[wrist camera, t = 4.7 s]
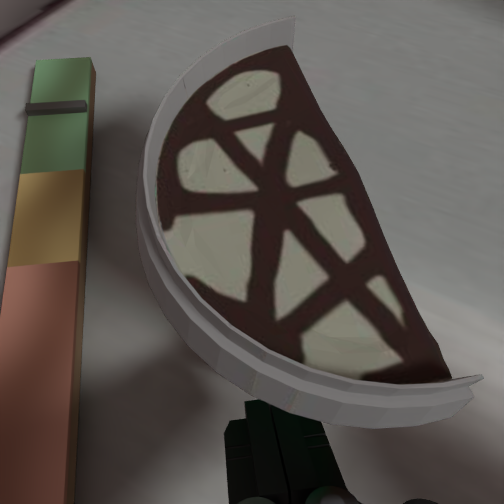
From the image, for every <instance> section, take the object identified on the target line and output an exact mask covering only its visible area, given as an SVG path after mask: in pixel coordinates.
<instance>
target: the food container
mask: <svg viewBox="0 0 504 504" xmlns="http://www.w3.org/2000/svg"><path fill="white" fill-rule="evenodd" d="M295 19H296V17H295V16H291V17H287V18H282V19H278V20H273V21H269V22H266V23H263V24H261V25H258V26H255V27H252V28H249V29H246V30H244V31H242V32H240V33H238V34H236V35H234V36H232V37H230V38H228V39H226V40H224V41H222V42H220V43H219V44H217V45H216V46H215V47H213V48H212V49H210V50H209V51H207V52H206V53H204V54H203V55H202V56H200V57H199V58H198V59H197V60H196V61H195V62H194V63H192V64H191V65H190V66H189V67H188V68H187V69H186V70H185V71H184V72H183V73H182V74H181V75H180V76H179V77H178V79H177V80H176V82H175V83H174V84H173V86H172V87H171V88H170V90H169V91H168V92H167V94H166V95H165V96H164V98H163V100H162V102H161V104H160V106H159V108H158V110H157V112H156V114H155V116H154V118H153V120H152V124H151V128H150V130H149V132H148V134H147V136H146V139H145V143H144V146H143V150H142V153H141V157H140V160H139V166H138V178H137V189H136V229H137V238H138V247H139V254H140V257H141V261H142V264H143V267H144V271H145V274H146V277H147V280H148V284H149V286H150V288H151V290H152V292H153V294H154V296H155V298H156V299H157V301H158V303H159V305H160V307H161V309H162V311H163V313H164V315H165V316H166V318H167V319H168V320H169V322H170V323H171V324H172V326H173V327H174V328H175V330H176V331H177V332H178V334H179V335H180V336H181V337H182V339H183V340H184V341H185V343H186V344H187V345H188V346H189V347H190V348H191V349H192V350H193V351H194V352H195V353H196V354H197V355H198V356H200V357H201V358H202V359H203V360H204V361H205V362H206V363H207V364H208V365H209V366H210V367H211V368H212V369H213V370H214V371H216V372H217V373H218V374H220V375H221V376H223V377H224V378H226V379H227V380H229V381H230V382H232V383H233V384H235V385H236V386H238V387H239V388H241V389H242V390H244V391H245V392H247V393H248V394H250V395H252V396H254V397H256V398H258V399H260V400H263V401H265V402H267V403H269V404H271V405H273V406H276V407H278V408H280V409H282V410H284V411H287V412H289V413H292V414H296V415H299V416H303V417H307V418H310V419H314V420H317V421H321V422H325V423H328V424H334V425H343V426H352V427H362V428H371V429H377V428H394V427H410V426H418V425H422V424H427V423H431V422H435V421H439V420H443V419H448V418H451V417H452V416H453V415H454V414H456V413H457V412H458V411H459V410H460V409H461V408H462V407H464V406H465V405H466V404H467V403H468V402H469V401H470V400H471V399H473V398H474V395H473V393H472V391H471V389H470V388H469V386H470V385H472V384H474V383H476V382H478V381H480V380H482V379H484V377H483V376H482V374H481V375H475V376H469V377H462V378H456V379H452V376H451V374H450V371H449V369H448V367H447V365H446V363H445V361H444V359H443V357H442V354H441V351H440V348H439V345H438V343H437V342H436V340H435V339H434V338H433V336H432V335H431V333H430V332H429V330H428V328H427V326H426V325H425V323H424V321H423V319H422V317H421V315H420V314H419V312H418V310H417V308H416V305H415V303H414V301H413V299H412V297H411V295H410V293H409V291H408V288H407V286H406V284H405V282H404V280H403V278H402V276H401V274H400V272H399V269H398V267H397V265H396V263H395V260H394V258H393V256H392V253H391V251H390V249H389V246H388V244H387V242H386V239H385V237H384V235H383V232H382V229H381V227H380V224H379V222H378V219H377V217H376V214H375V212H374V209H373V206H372V204H371V202H370V199H369V197H368V194H367V192H366V190H365V187H364V185H363V183H362V180H361V178H360V175H359V173H358V171H357V169H356V168H355V166H354V164H353V162H352V161H351V159H350V157H349V155H348V154H347V152H346V150H345V149H344V147H343V145H342V144H341V142H340V141H339V139H338V138H337V136H336V135H335V133H334V132H333V130H332V128H331V127H330V125H329V123H328V122H327V120H326V118H325V116H324V115H323V113H322V111H321V110H320V108H319V106H318V103H317V101H316V99H315V97H314V95H313V93H312V91H311V89H310V87H309V85H308V83H307V81H306V79H305V77H304V75H303V73H302V71H301V69H300V67H299V65H298V63H297V61H296V59H295V57H294V54H293V43H294V31H295Z"/></svg>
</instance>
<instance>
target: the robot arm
mask: <svg viewBox="0 0 504 504" xmlns="http://www.w3.org/2000/svg"><path fill="white" fill-rule="evenodd" d="M244 403H245V415H246V419H238V420H231V421H229V424H228V426H227V428H226V430H225V432H224V440H225V454H226V468H227V482H228V496H229V504H362V503H360V502H359V501H357V499H356V498H355V497H354V496H353V495H352V494H351V493H350V492H349V491H348V490H347V488H346V485H345V483H344V480H343V478H342V475H341V472H340V470H339V467H338V465H337V462H336V459H335V457H334V454H333V452H332V449H331V446H330V444H329V441H328V439H327V436H326V434H325V431H324V428H323V426H322V423H321V421H317V420H314V419H310V418H307V417H303V416H299V415H296V414H292V413H289V412H287V411H284V410H282V409H280V408H278V407H276V406H273V405H271V404H269V403H267V402H265V401H263V400H260V399H259V400H252V401H244ZM403 504H438V503H436V502H433V501H430V500H426V499H412V500H409V501H406V502H405V503H403Z"/></svg>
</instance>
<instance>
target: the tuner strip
mask: <svg viewBox="0 0 504 504" xmlns="http://www.w3.org/2000/svg"><path fill="white" fill-rule="evenodd" d="M95 82H96V72H95V69H94V66H93V63H92V60H91V58H90V57H86V58H68V59H51V60H36V66H35V73H34V80H33V87H32V94H31V101H30V103H26V107H25V111H26V113H27V115H28V122H27V129H26V137H25V144H24V151H23V158H22V165H21V172H20V179H19V186H18V193H17V200H16V208H15V215H14V222H13V229H12V236H11V243H10V250H9V257H8V264H7V271H6V279H5V286H4V293H3V300H2V307H1V314H0V504H74V496H75V477H76V457H77V437H78V417H79V398H80V378H81V358H82V339H83V319H84V299H85V279H86V260H87V240H88V220H89V200H90V181H91V161H92V141H93V121H94V102H95Z"/></svg>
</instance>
